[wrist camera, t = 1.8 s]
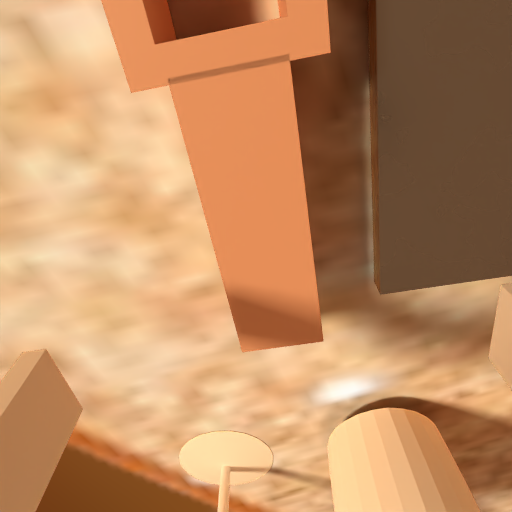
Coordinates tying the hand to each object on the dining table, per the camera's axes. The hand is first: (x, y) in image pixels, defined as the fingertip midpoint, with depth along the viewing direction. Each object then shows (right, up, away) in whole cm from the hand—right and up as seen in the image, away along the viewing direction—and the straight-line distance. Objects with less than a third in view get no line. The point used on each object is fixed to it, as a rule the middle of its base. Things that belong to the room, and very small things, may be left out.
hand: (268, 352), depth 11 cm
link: (-1, +8, +6) cm, 10 cm away
